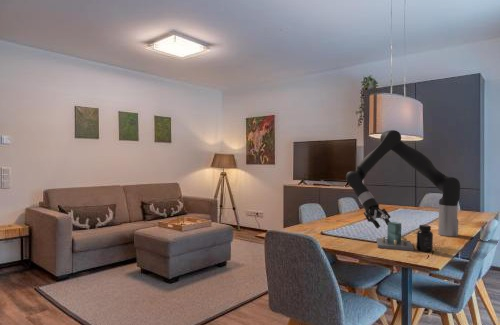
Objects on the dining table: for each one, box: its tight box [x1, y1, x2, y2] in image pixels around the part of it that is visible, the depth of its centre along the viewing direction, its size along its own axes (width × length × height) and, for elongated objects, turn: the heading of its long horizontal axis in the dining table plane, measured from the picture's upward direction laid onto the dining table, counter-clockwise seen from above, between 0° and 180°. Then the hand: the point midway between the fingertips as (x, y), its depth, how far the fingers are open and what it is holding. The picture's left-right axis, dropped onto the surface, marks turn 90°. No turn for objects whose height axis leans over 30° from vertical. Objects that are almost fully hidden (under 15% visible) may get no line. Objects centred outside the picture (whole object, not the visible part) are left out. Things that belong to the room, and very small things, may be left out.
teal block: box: [386, 221, 402, 244], centre depth 172 cm, size 4×4×10 cm
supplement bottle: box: [416, 224, 434, 253], centre depth 163 cm, size 7×7×12 cm
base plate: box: [376, 236, 415, 252], centre depth 172 cm, size 16×14×4 cm
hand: (384, 226), depth 177 cm, fingers open, 8 cm apart
